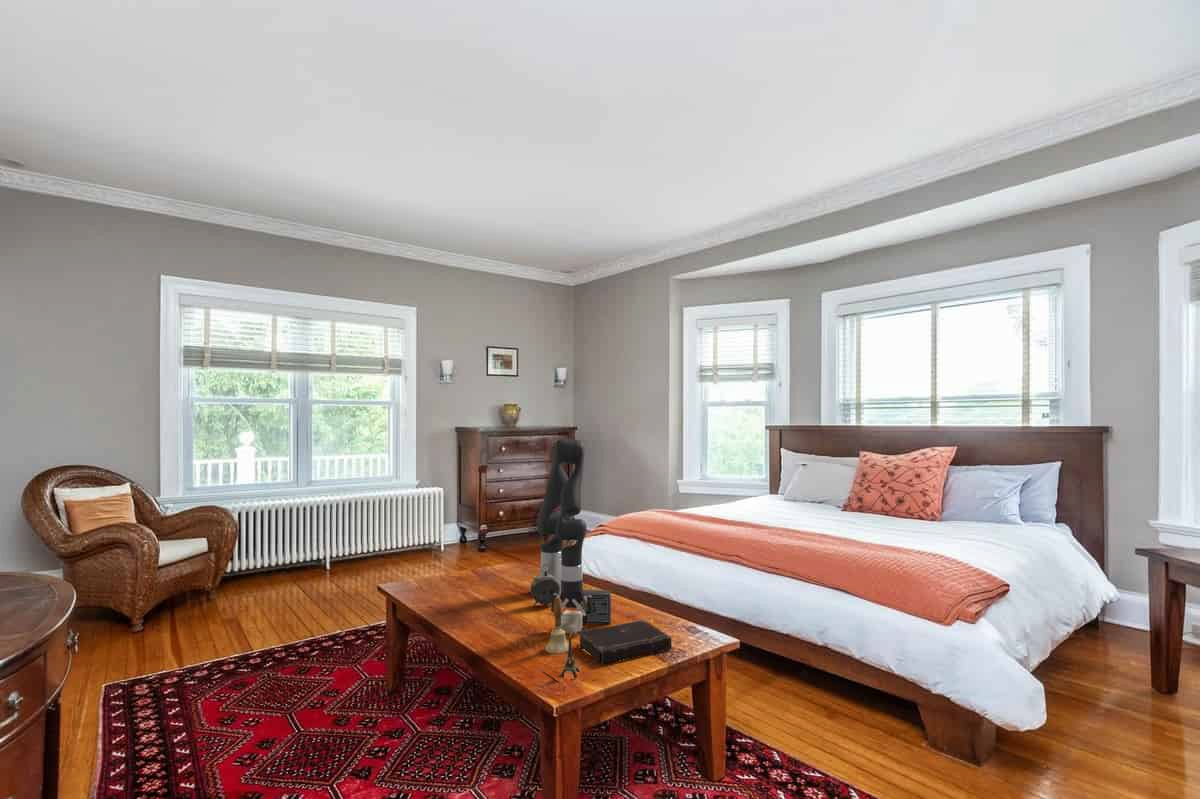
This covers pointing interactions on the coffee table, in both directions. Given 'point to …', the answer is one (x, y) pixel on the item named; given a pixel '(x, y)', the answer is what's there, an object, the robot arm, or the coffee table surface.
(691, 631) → the coffee table surface
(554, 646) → the hand bell
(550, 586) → the alarm clock
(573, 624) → the birch cube
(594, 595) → the small box
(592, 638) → the diary
